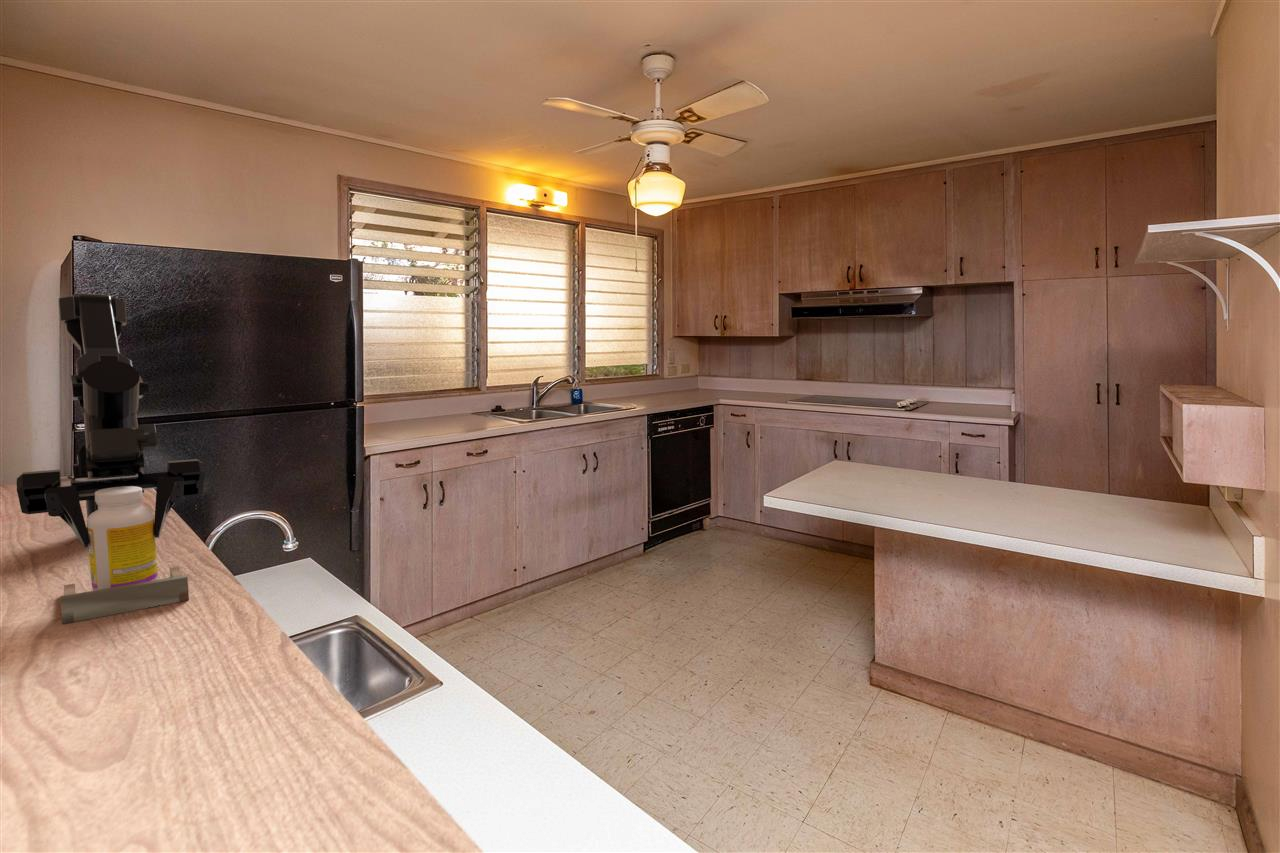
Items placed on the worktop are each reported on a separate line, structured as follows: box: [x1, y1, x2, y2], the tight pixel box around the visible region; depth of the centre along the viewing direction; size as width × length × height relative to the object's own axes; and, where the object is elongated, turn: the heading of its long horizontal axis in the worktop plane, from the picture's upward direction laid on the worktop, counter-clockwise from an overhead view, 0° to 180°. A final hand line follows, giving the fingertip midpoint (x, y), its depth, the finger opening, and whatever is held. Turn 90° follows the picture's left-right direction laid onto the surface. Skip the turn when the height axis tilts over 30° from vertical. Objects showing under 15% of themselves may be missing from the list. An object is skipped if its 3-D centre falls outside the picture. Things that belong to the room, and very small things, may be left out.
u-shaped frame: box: [59, 566, 190, 625], centre depth 83 cm, size 11×12×3 cm
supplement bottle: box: [86, 486, 159, 591], centre depth 83 cm, size 7×7×13 cm
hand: (122, 540), depth 81 cm, fingers closed on supplement bottle, 7 cm apart
